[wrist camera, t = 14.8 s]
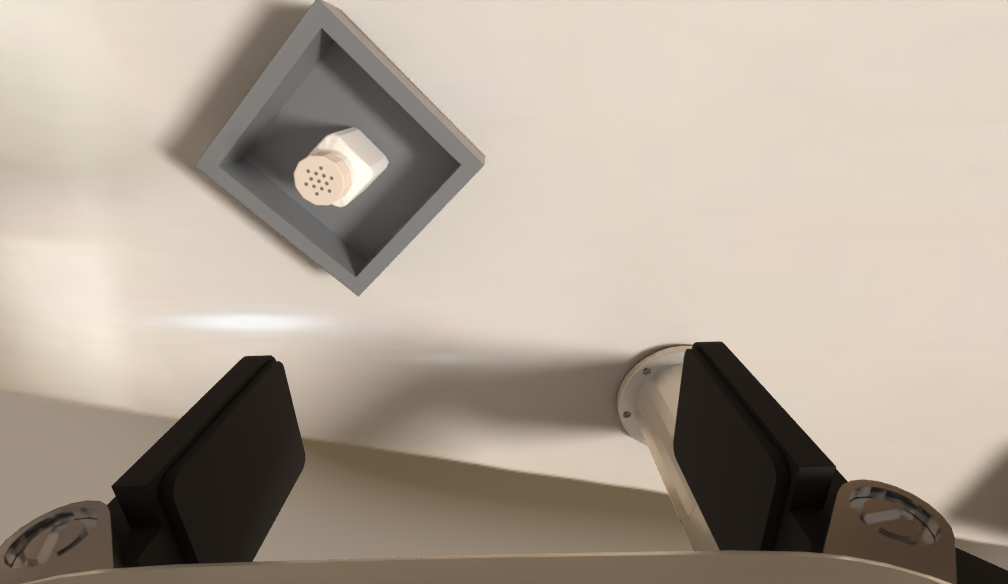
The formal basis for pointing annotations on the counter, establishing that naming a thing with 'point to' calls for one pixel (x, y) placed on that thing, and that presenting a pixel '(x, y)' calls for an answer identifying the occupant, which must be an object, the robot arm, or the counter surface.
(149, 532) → the robot arm
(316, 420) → the counter surface
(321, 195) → the pepper shaker
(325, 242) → the bin
